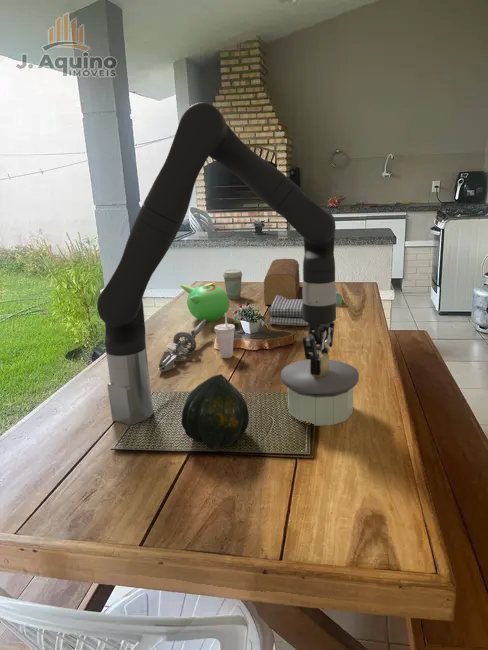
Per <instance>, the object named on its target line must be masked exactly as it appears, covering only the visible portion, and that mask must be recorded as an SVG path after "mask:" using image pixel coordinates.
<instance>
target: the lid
mask: <svg viewBox="0 0 488 650" xmlns="http://www.w3.org/2000/svg"><path fill="white" fill-rule="evenodd" d="M320 360H321V373H320V374H319V375H313V374H311V369H310V360H309V359H303V360H298V361H295V362H293V363H290V364H288V365H286V366H285V367H284V368H282V370H281V373H280V377H281V378H280V379H281V382H282V384H283V385H284V386H285V387H287V389H288V388H290V389H292V390H295V391H298V392H302V393H307V394H319V395H323V394H335V393H340V392H344V391H347V390H349V389H351V388H353V389H354V387H355V386H357V385H358V383H359V379H360V378H359V377H360V373H359V371H358V369H357V368H355V367H354V366H353V365H351V364H349V363H347V362H343V361H340V360H334V359H330V355H329V353H328V354H327V353H322V352H321V359H320Z"/></svg>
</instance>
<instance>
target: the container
mask: <svg viewBox="0 0 488 650" xmlns="http://www.w3.org/2000/svg"><path fill="white" fill-rule="evenodd" d="M342 303H343V295H342V294H340V293H339V292H338V290H337V289H336V307H337V306H340V305H341V304H342Z"/></svg>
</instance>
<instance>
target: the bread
mask: <svg viewBox="0 0 488 650" xmlns="http://www.w3.org/2000/svg"><path fill="white" fill-rule="evenodd" d="M300 280H301V279H300V264H299V262H298V260H296V259H294V258H276V259H274V260H272V262H271V264H270V266H269V268H268V270H267V272H266V275H265V277H264V281H263V287H264V288H263V300H264V301H263V302H264V305H265V306H268V305H272V303H273V301H274V300H275V298H276V296H277V295H279V296H282V297H285V298H287V299H291V300H292V299H299V291H300Z"/></svg>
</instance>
